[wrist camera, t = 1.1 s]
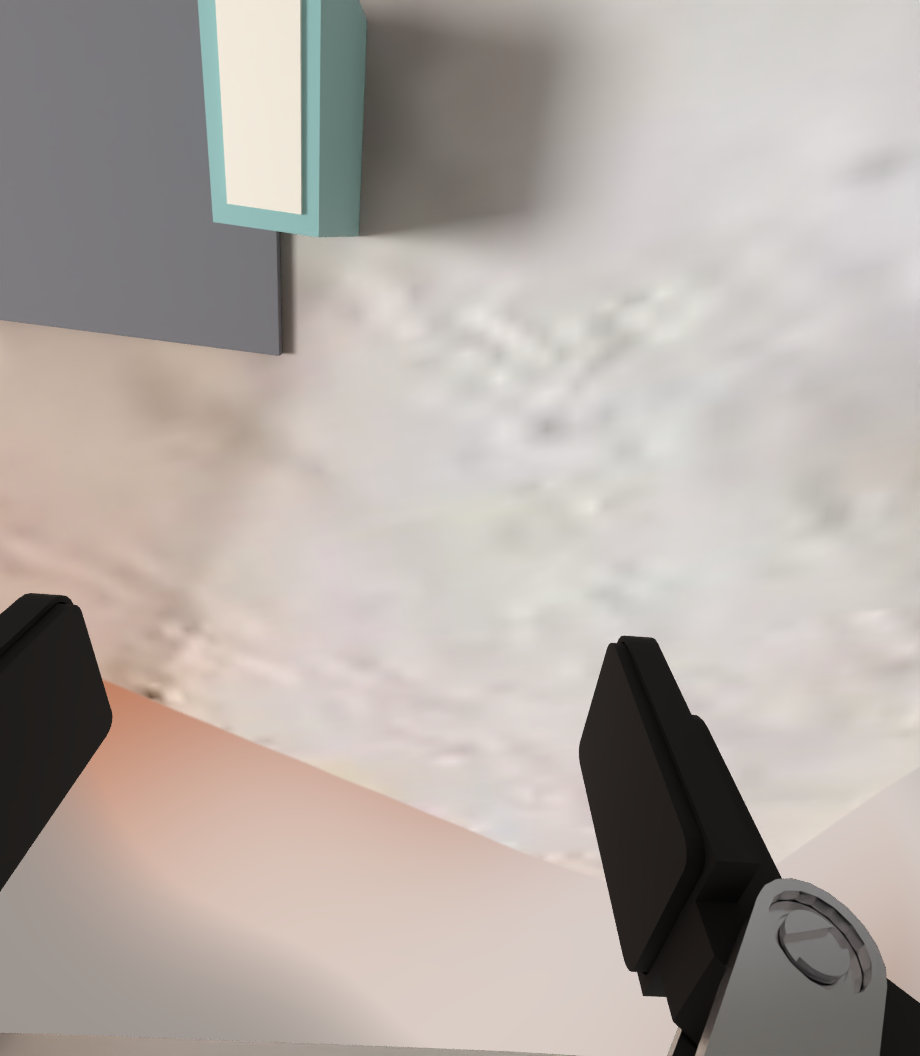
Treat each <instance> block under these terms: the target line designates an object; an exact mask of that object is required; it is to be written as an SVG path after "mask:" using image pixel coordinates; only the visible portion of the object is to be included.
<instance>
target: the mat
mask: <svg viewBox="0 0 920 1056" xmlns="http://www.w3.org/2000/svg"><path fill="white" fill-rule="evenodd" d="M0 320H5V321H13V322H20V323H28V324H36V325H44V326H51V327H59V328H67V329H75V330H83V331H90V332H98V333H106V334H114V335H121V336H129V337H137V338H145V339H153V340H160V341H168V342H176V343H184V344H191V345H199V346H207V347H215V348H223V349H230V350H238V351H246V352H254V353H261V354H269V355H277V356H279V355H281V354H282V316H281V267H280V232H279V231H272V230H265V229H258V228H251V227H244V226H237V225H230V224H223V223H216V222H213V213H212V199H211V185H210V170H209V156H208V141H207V127H206V113H205V98H204V84H203V69H202V55H201V41H200V26H199V12H198V0H0Z"/></svg>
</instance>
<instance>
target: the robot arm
mask: <svg viewBox="0 0 920 1056" xmlns="http://www.w3.org/2000/svg"><path fill="white" fill-rule="evenodd" d="M111 723H112V711H111V708H110V705H109V701H108V698H107V695H106V691H105V688H104V684H103V681H102V678H101V674H100V671H99V668H98V664H97V661H96V658H95V654H94V651H93V648H92V644H91V641H90V638H89V634H88V631H87V628H86V624H85V621H84V618H83V614H82V611H81V609H80V608H79V607H78V606H77V605H73V603H72V601H71V600H70V599H69V598H68V597H67V596H63V595H49V594H35V593H29V594H25V595H23V596H22V597H20V598H19V599H18V600H16V601H15V602H14V603H13V604H12V605H11V606H9V607H8V608H7V609H6V610H5V611H4V612H2V613H1V614H0V891H1V889H2V888H3V887H4V885H5V884H6V882H7V881H8V879H9V878H10V876H11V874H12V873H13V872H14V870H15V869H16V868H17V866H18V865H19V863H20V862H21V860H22V859H23V857H24V856H25V854H26V853H27V851H28V850H29V848H30V847H31V845H32V844H33V843H34V841H35V840H36V838H37V837H38V835H39V834H40V832H41V831H42V829H43V828H44V827H45V825H46V824H47V822H48V821H49V819H50V818H51V816H52V815H53V813H54V812H55V810H56V809H57V807H58V806H59V805H60V803H61V802H62V800H63V799H64V797H65V796H66V794H67V793H68V791H69V790H70V788H71V787H72V785H73V784H74V783H75V781H76V780H77V778H78V777H79V775H80V774H81V772H82V771H83V769H84V768H85V767H86V765H87V764H88V762H89V761H90V759H91V758H92V756H93V755H94V753H95V752H96V750H97V749H98V747H99V746H100V745H101V743H102V742H103V740H104V739H105V737H106V736H107V734H108V732H109V730H110V727H111ZM579 760H580V766H581V770H582V775H583V779H584V784H585V788H586V793H587V797H588V802H589V806H590V811H591V815H592V820H593V824H594V828H595V833H596V837H597V842H598V846H599V851H600V855H601V860H602V864H603V869H604V873H605V878H606V882H607V887H608V891H609V895H610V900H611V904H612V909H613V913H614V918H615V922H616V926H617V931H618V936H619V940H620V945H621V949H622V954H623V957H624V961H625V964H626V966H627V968H628V969H629V971H632V972H637V973H638V977H639V981H640V985H641V989H642V993H643V996H657V997H658V996H659V997H667V1001H668V1005H669V1009H670V1012H671V1016H672V1020H673V1022H674V1023H675V1024H676V1025H677V1026H678V1029H677V1031H676V1034H675V1037H674V1039H673V1042H672V1044H671V1047H670V1050H669V1052H668V1055H667V1056H920V1003H919V1002H918V1001H916V1000H915V999H913V998H912V997H911V996H909V995H908V994H907V993H906V992H904V991H903V990H902V989H900V988H899V987H898V986H896V985H895V984H894V983H893V982H891V981H890V980H888V979H887V978H886V967H885V964H884V962H883V959H882V957H881V954H880V951H879V949H878V946H877V945H876V943H875V942H874V940H873V939H872V937H871V935H870V934H869V932H868V931H867V929H866V928H865V926H864V925H863V924H862V923H861V922H860V921H859V920H858V919H857V918H856V916H855V915H854V914H853V913H852V912H851V911H850V910H849V909H848V908H847V907H846V906H845V905H844V904H842V903H841V902H840V901H838V900H837V899H836V898H835V897H833V896H832V895H831V894H829V893H828V892H826V891H824V890H822V889H820V888H818V887H816V886H814V885H812V884H811V883H807V882H804V881H800V880H796V879H792V878H790V879H782V878H781V876H780V874H779V872H778V870H777V868H776V866H775V864H774V862H773V860H772V858H771V856H770V854H769V852H768V849H767V847H766V845H765V843H764V841H763V839H762V837H761V835H760V833H759V831H758V829H757V827H756V825H755V823H754V821H753V819H752V817H751V815H750V813H749V811H748V809H747V807H746V805H745V803H744V801H743V799H742V797H741V795H740V793H739V790H738V788H737V786H736V784H735V782H734V780H733V778H732V776H731V774H730V772H729V770H728V768H727V766H726V764H725V762H724V760H723V758H722V756H721V754H720V752H719V750H718V748H717V746H716V744H715V742H714V740H713V738H712V736H711V733H710V731H709V729H708V727H707V726H706V724H705V723H704V721H703V720H702V719H701V718H700V717H698V716H697V715H691V713H690V711H689V708H688V706H687V704H686V702H685V700H684V698H683V696H682V694H681V691H680V689H679V687H678V685H677V683H676V681H675V679H674V677H673V675H672V672H671V670H670V668H669V666H668V664H667V662H666V660H665V658H664V655H663V653H662V651H661V649H660V647H659V645H658V643H657V641H656V640H655V639H654V638H649V637H635V636H621V637H620V638H619V640H618V642H617V643H610V644H609V645H608V648H607V651H606V654H605V658H604V661H603V665H602V668H601V671H600V675H599V678H598V682H597V685H596V689H595V692H594V696H593V699H592V703H591V706H590V710H589V713H588V716H587V720H586V723H585V727H584V730H583V734H582V737H581V741H580V745H579ZM0 1056H575V1055H558V1054H542V1053H526V1052H509V1051H485V1050H460V1049H435V1048H412V1047H411V1048H410V1047H387V1046H363V1045H337V1044H313V1043H285V1042H258V1041H229V1040H202V1039H172V1038H145V1037H116V1036H87V1035H54V1034H22V1033H20V1034H19V1033H0Z"/></svg>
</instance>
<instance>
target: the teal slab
mask: <svg viewBox="0 0 920 1056" xmlns="http://www.w3.org/2000/svg"><path fill="white" fill-rule="evenodd" d="M198 12H199V26H200V41H201V55H202V69H203V84H204V98H205V113H206V127H207V141H208V156H209V170H210V185H211V199H212V213H213V222H216V223H223V224H230V225H237V226H244V227H251V228H258V229H265V230H272V231H279V232H286V233H293V234H300V235H306V236H313V237H353V236H359V217H360V192H361V166H362V140H363V115H364V89H365V63H366V37H367V19H366V16H365V14H364V11H363V9H362V6H361V4H360V1H359V0H198Z"/></svg>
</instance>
